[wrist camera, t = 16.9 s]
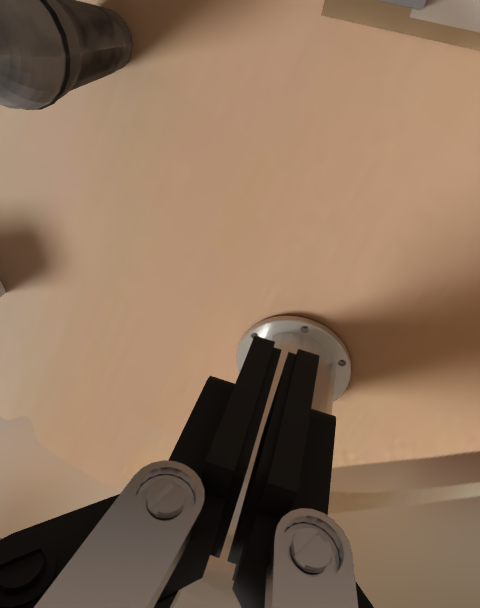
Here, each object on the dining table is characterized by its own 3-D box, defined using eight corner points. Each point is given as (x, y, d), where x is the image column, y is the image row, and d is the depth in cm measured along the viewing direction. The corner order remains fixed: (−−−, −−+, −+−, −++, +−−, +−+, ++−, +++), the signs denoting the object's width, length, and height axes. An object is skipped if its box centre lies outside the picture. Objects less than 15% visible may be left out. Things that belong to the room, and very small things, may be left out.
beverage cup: (94, -37, 35) (-157, -88, 18) (164, 38, 36) (-10, 52, 20) (53, 43, 39) (-185, 59, 22) (118, 107, 40) (-59, 167, 24)
